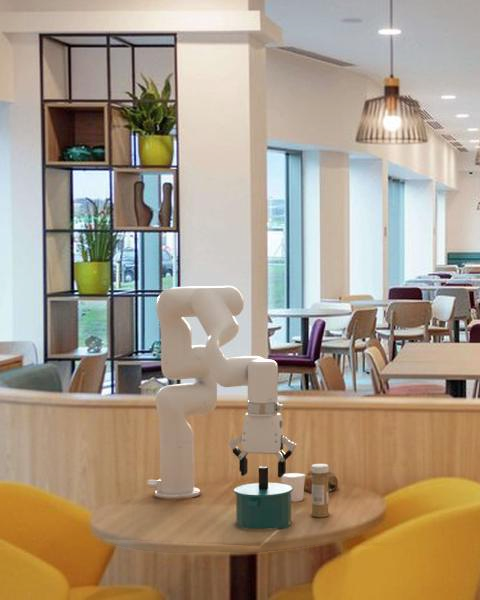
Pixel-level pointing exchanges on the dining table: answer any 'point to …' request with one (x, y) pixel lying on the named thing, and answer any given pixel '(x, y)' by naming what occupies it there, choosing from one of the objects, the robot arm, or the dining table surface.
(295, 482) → the white cup
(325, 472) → the spice jar
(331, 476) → the bread roll
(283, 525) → the pot
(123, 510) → the dining table surface
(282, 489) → the lid
